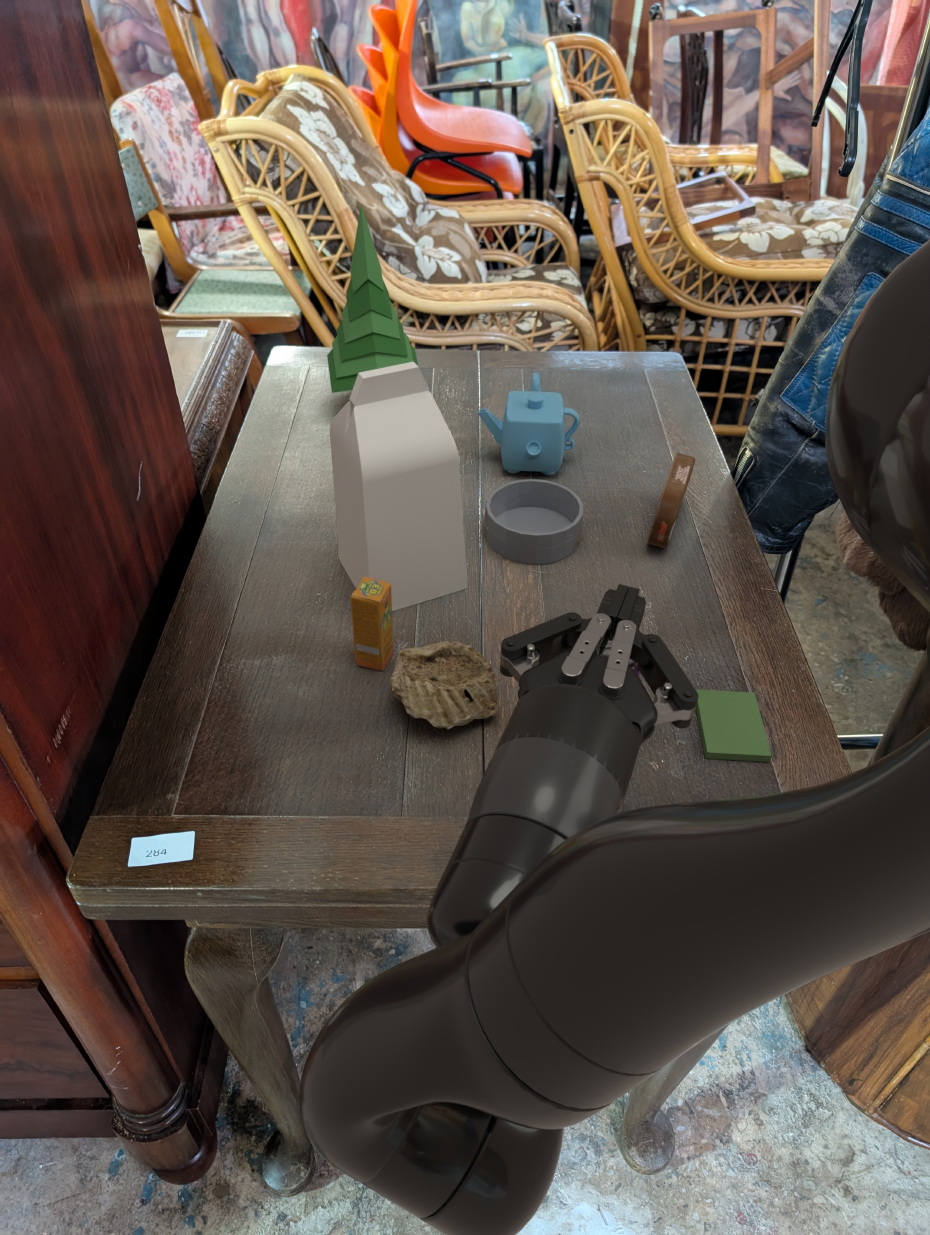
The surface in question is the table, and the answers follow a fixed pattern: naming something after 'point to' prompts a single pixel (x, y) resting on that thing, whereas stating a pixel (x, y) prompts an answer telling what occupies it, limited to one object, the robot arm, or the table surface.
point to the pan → (533, 521)
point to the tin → (671, 500)
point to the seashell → (445, 684)
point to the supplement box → (372, 623)
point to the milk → (398, 488)
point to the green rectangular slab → (731, 726)
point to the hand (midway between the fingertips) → (627, 595)
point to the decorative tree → (366, 320)
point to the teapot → (532, 430)
